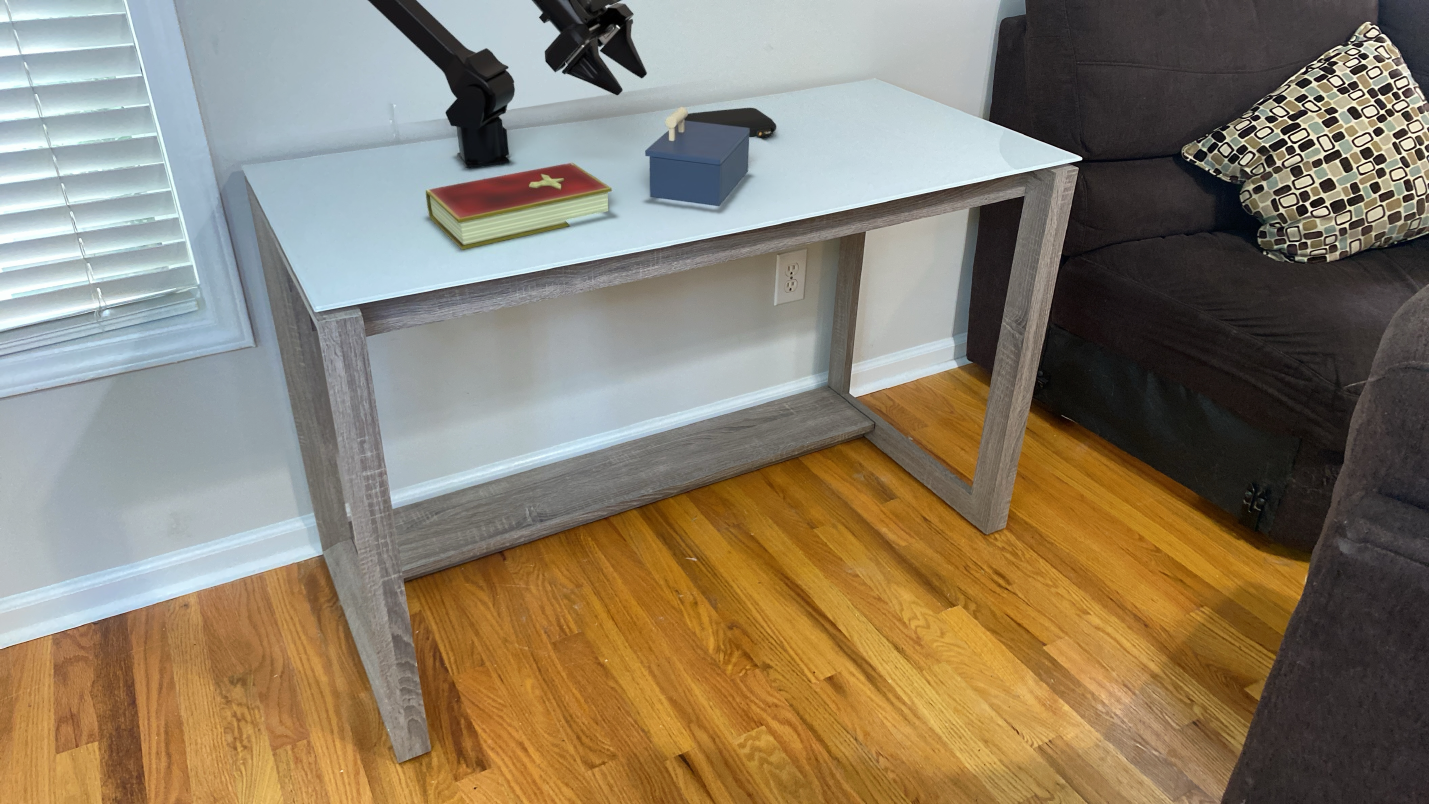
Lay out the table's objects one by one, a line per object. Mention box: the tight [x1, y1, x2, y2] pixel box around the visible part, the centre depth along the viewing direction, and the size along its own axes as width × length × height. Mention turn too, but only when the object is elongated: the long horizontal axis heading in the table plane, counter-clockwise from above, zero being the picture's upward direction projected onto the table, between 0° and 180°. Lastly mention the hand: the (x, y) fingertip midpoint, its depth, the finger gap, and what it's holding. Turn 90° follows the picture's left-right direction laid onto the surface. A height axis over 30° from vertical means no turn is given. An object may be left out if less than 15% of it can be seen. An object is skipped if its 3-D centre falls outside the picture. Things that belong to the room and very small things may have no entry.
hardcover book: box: [425, 162, 612, 250], centre depth 127 cm, size 12×21×4 cm, turn 123°
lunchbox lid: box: [644, 106, 750, 165], centre depth 134 cm, size 11×15×4 cm
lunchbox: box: [648, 134, 750, 207], centre depth 137 cm, size 10×15×6 cm
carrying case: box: [684, 107, 777, 139], centre depth 158 cm, size 11×3×15 cm
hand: (632, 84), depth 133 cm, fingers open, 9 cm apart
